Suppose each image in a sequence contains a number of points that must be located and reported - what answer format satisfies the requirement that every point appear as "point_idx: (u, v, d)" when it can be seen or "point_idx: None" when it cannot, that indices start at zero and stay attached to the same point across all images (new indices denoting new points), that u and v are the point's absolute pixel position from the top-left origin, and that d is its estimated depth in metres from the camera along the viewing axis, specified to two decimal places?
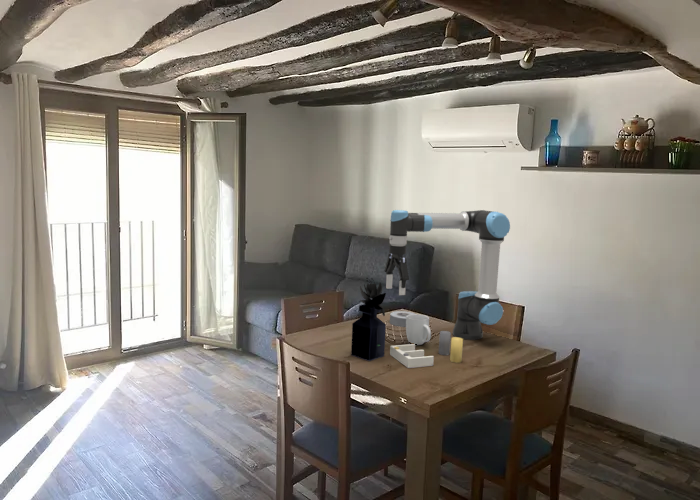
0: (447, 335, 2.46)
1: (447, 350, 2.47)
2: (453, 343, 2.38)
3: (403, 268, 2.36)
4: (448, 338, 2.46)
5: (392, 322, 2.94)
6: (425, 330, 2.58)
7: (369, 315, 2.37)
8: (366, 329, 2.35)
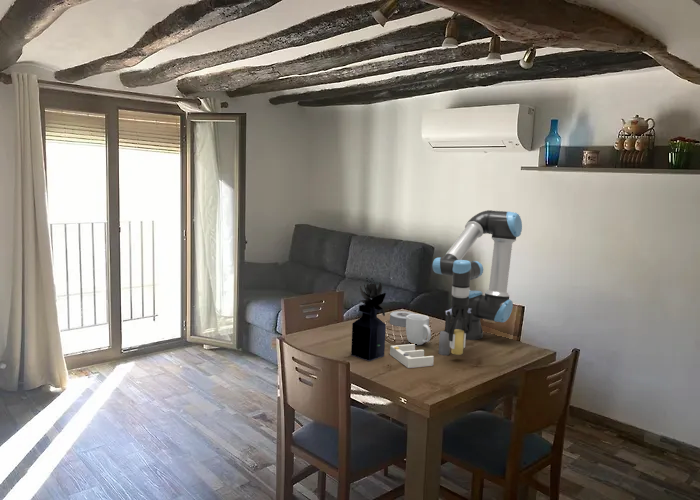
0: (447, 335, 2.46)
1: (447, 350, 2.47)
2: None
3: (446, 321, 2.37)
4: (448, 338, 2.46)
5: (392, 322, 2.94)
6: (425, 330, 2.58)
7: (369, 315, 2.37)
8: (366, 329, 2.35)
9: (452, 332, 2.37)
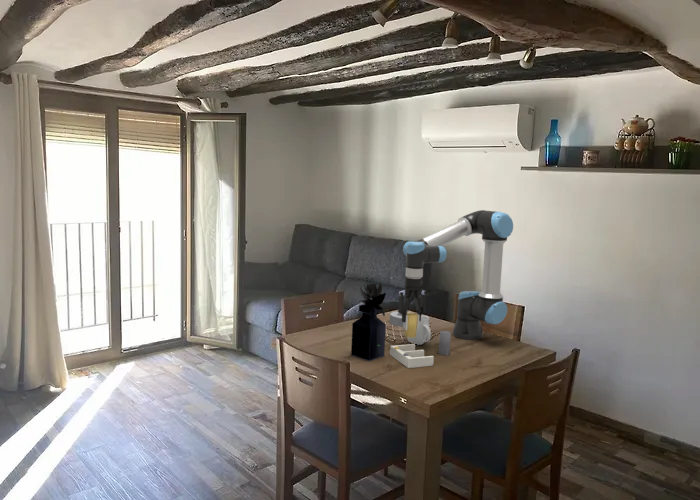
0: (447, 335, 2.46)
1: (447, 350, 2.47)
2: None
3: (399, 302, 2.39)
4: (448, 338, 2.46)
5: (392, 322, 2.94)
6: (425, 330, 2.58)
7: (369, 315, 2.37)
8: (366, 329, 2.35)
9: (405, 313, 2.39)
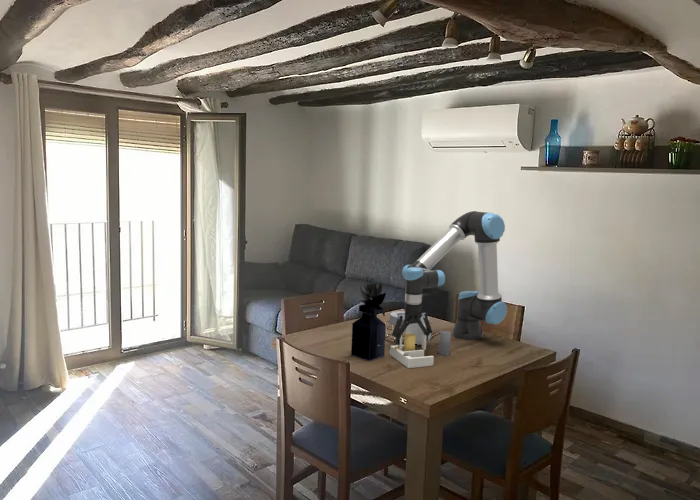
0: (447, 335, 2.46)
1: (447, 350, 2.47)
2: (406, 339, 2.41)
3: (396, 324, 2.40)
4: (448, 338, 2.46)
5: (392, 322, 2.94)
6: None
7: (369, 315, 2.37)
8: (366, 329, 2.35)
9: (399, 336, 2.39)
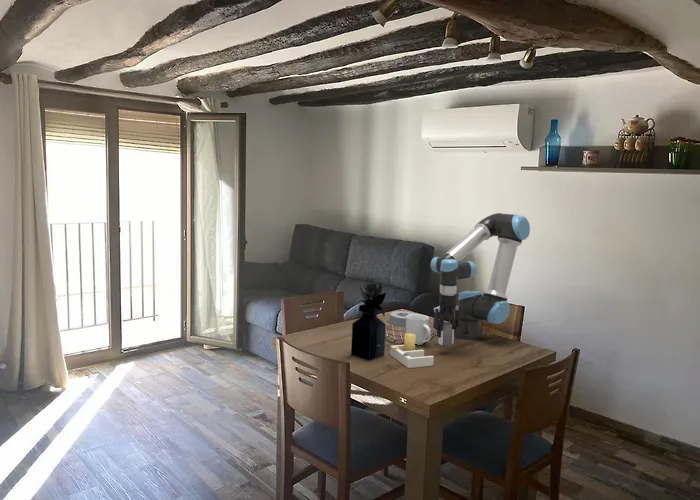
0: (448, 326, 2.46)
1: (449, 341, 2.47)
2: (406, 339, 2.41)
3: (434, 318, 2.46)
4: (449, 329, 2.46)
5: (392, 322, 2.94)
6: (425, 330, 2.58)
7: (369, 315, 2.37)
8: (366, 329, 2.35)
9: (440, 328, 2.46)
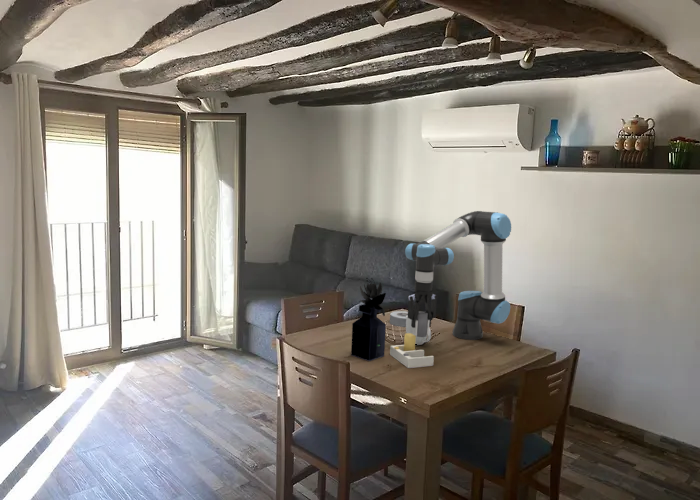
0: (423, 315, 2.30)
1: (423, 331, 2.31)
2: (406, 339, 2.41)
3: (408, 306, 2.30)
4: (425, 319, 2.31)
5: (392, 322, 2.94)
6: None
7: (369, 315, 2.37)
8: (366, 329, 2.35)
9: (415, 318, 2.30)
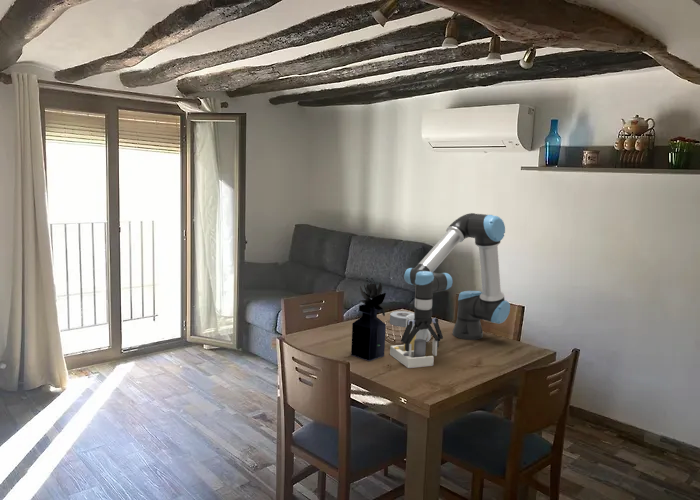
0: (422, 344, 2.32)
1: None
2: None
3: (405, 330, 2.31)
4: (423, 347, 2.32)
5: (392, 322, 2.94)
6: (425, 330, 2.58)
7: (369, 315, 2.37)
8: (366, 329, 2.35)
9: (408, 342, 2.31)
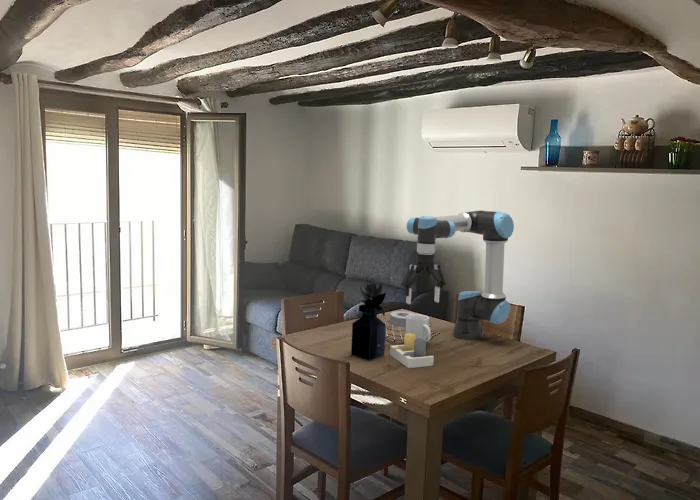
0: (422, 344, 2.32)
1: None
2: (406, 339, 2.41)
3: (406, 275, 2.28)
4: (423, 347, 2.32)
5: (392, 322, 2.94)
6: (425, 330, 2.58)
7: (369, 315, 2.37)
8: (366, 329, 2.35)
9: (408, 286, 2.27)
